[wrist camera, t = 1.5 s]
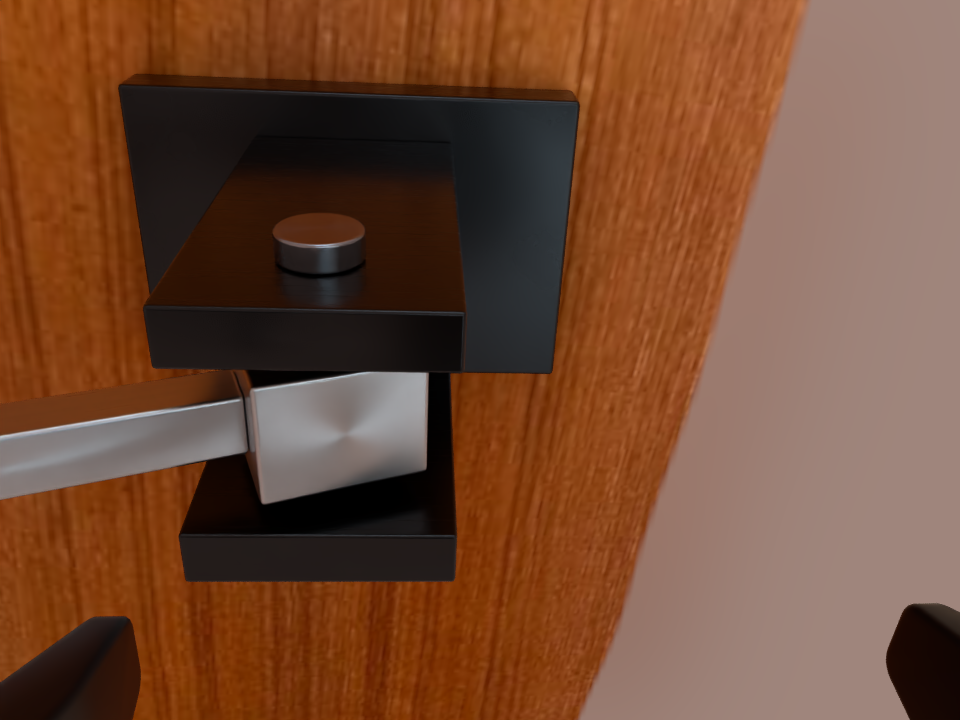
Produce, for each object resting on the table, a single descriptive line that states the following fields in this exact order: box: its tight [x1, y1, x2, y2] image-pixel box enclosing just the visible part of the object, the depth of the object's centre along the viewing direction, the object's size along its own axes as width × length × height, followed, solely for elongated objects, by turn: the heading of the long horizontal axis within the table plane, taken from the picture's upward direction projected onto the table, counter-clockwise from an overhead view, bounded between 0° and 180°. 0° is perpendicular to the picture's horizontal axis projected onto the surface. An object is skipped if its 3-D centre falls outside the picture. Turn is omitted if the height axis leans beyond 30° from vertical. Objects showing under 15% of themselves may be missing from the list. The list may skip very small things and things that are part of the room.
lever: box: [0, 370, 429, 505], centre depth 13 cm, size 11×6×2 cm, turn 87°
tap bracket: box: [118, 74, 580, 582], centre depth 17 cm, size 10×7×10 cm
